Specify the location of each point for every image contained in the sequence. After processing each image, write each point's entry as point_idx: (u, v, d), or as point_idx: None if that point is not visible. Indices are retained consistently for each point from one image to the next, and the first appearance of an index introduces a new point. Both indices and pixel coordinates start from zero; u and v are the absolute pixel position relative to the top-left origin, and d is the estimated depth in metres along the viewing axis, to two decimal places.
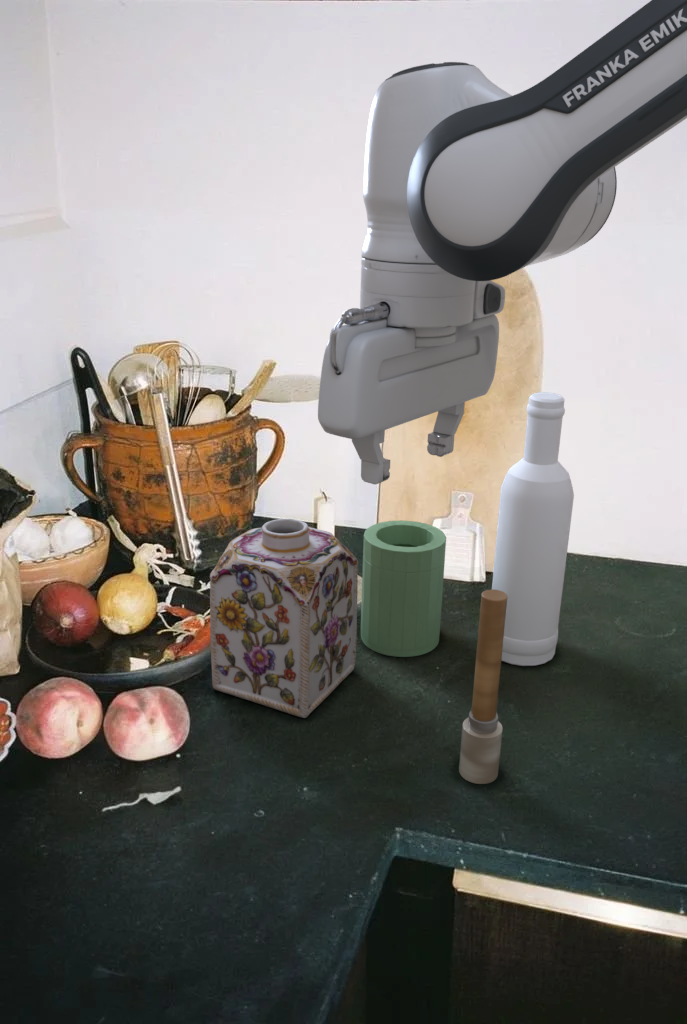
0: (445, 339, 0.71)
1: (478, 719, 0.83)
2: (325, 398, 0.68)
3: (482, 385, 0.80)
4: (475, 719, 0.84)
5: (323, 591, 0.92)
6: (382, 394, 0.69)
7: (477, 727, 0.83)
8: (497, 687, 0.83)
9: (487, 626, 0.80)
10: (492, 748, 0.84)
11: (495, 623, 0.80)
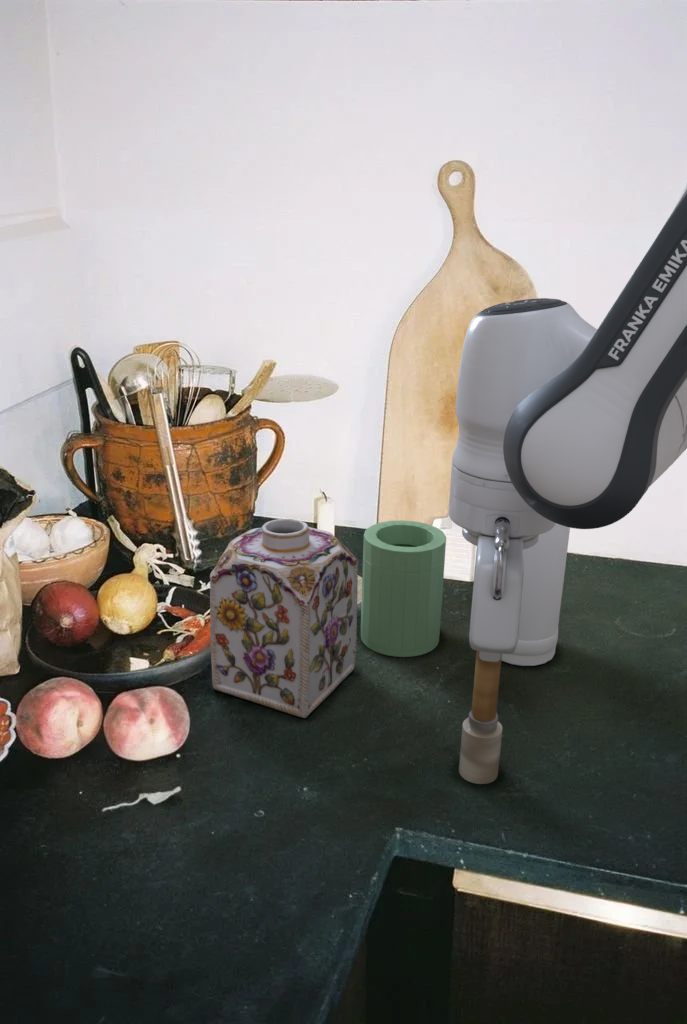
0: (538, 536, 0.77)
1: (478, 720, 0.83)
2: (482, 622, 0.70)
3: None
4: (475, 719, 0.83)
5: (323, 591, 0.92)
6: None
7: (477, 727, 0.83)
8: (497, 687, 0.83)
9: None
10: (492, 748, 0.84)
11: None
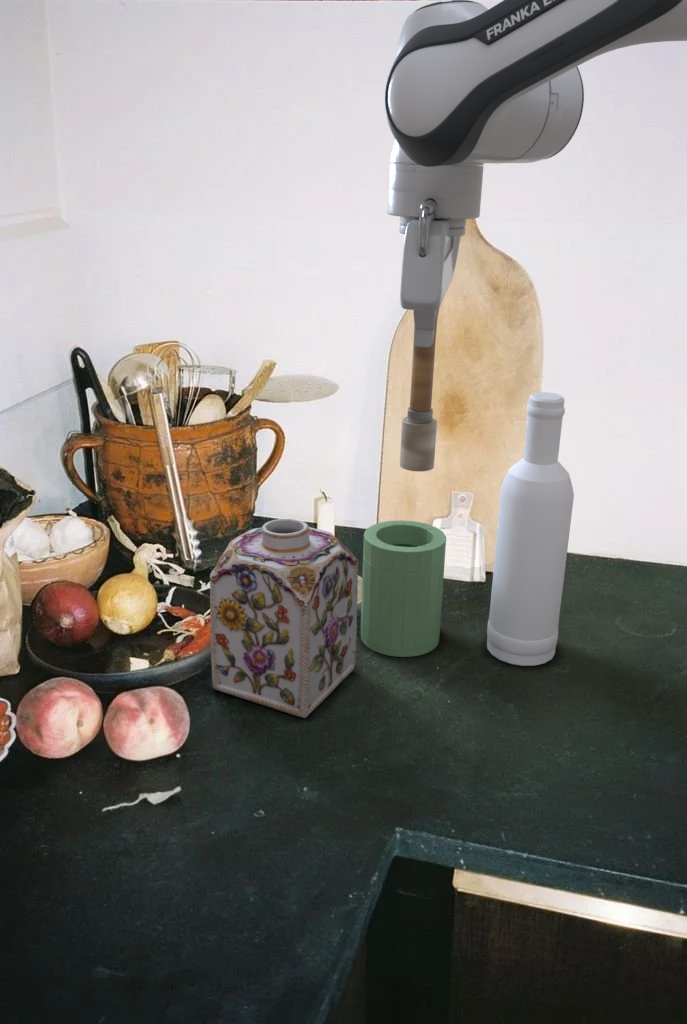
0: (464, 230, 0.89)
1: (415, 411, 0.96)
2: (410, 278, 0.82)
3: (452, 274, 0.99)
4: (412, 410, 0.96)
5: (323, 591, 0.92)
6: None
7: (414, 417, 0.96)
8: (431, 379, 0.95)
9: None
10: (427, 436, 0.96)
11: None
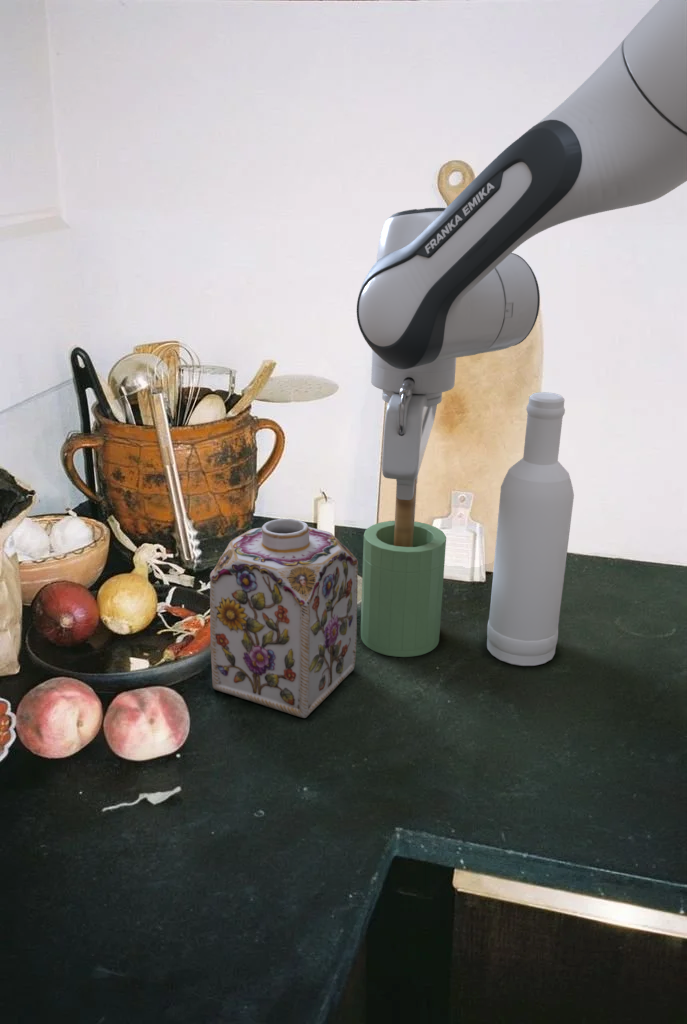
0: (440, 398, 0.99)
1: None
2: (390, 453, 0.92)
3: (432, 423, 1.09)
4: None
5: (323, 591, 0.92)
6: (421, 444, 0.94)
7: None
8: (412, 525, 1.04)
9: None
10: None
11: None
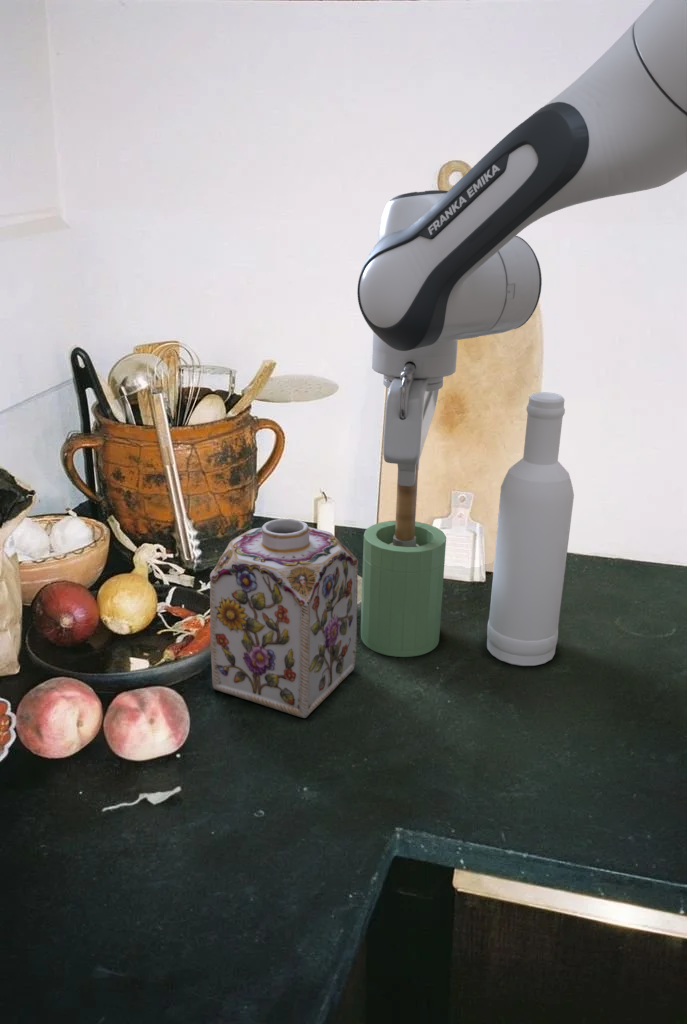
0: (442, 383, 0.98)
1: (400, 539, 1.05)
2: (391, 437, 0.91)
3: (433, 410, 1.08)
4: (397, 539, 1.05)
5: (323, 591, 0.92)
6: (422, 428, 0.94)
7: (399, 545, 1.05)
8: (414, 512, 1.04)
9: None
10: None
11: None
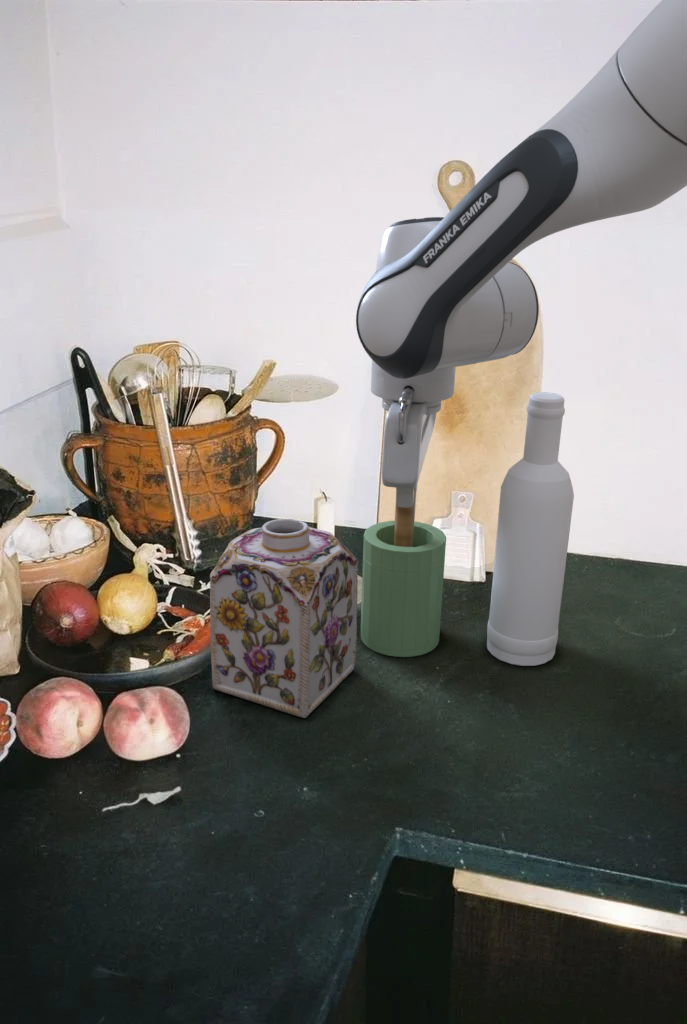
0: (440, 406, 0.99)
1: None
2: (390, 462, 0.92)
3: (431, 431, 1.09)
4: None
5: (323, 591, 0.92)
6: None
7: None
8: (412, 532, 1.05)
9: None
10: None
11: None
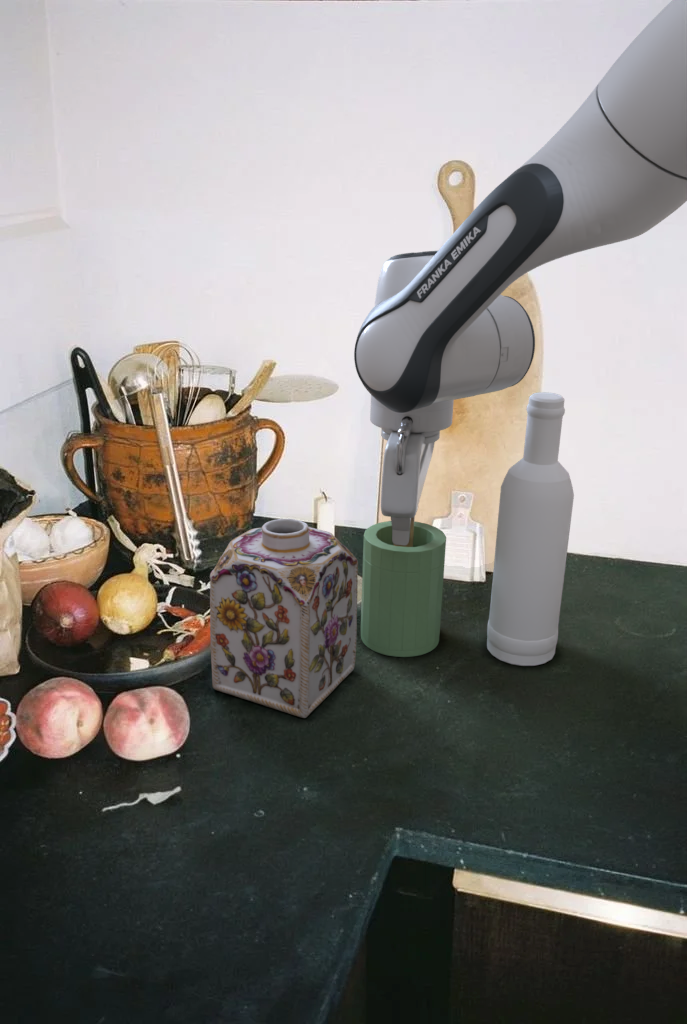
0: (438, 435, 1.00)
1: None
2: (389, 492, 0.93)
3: (430, 457, 1.10)
4: None
5: (323, 591, 0.92)
6: (419, 482, 0.96)
7: None
8: None
9: None
10: None
11: None
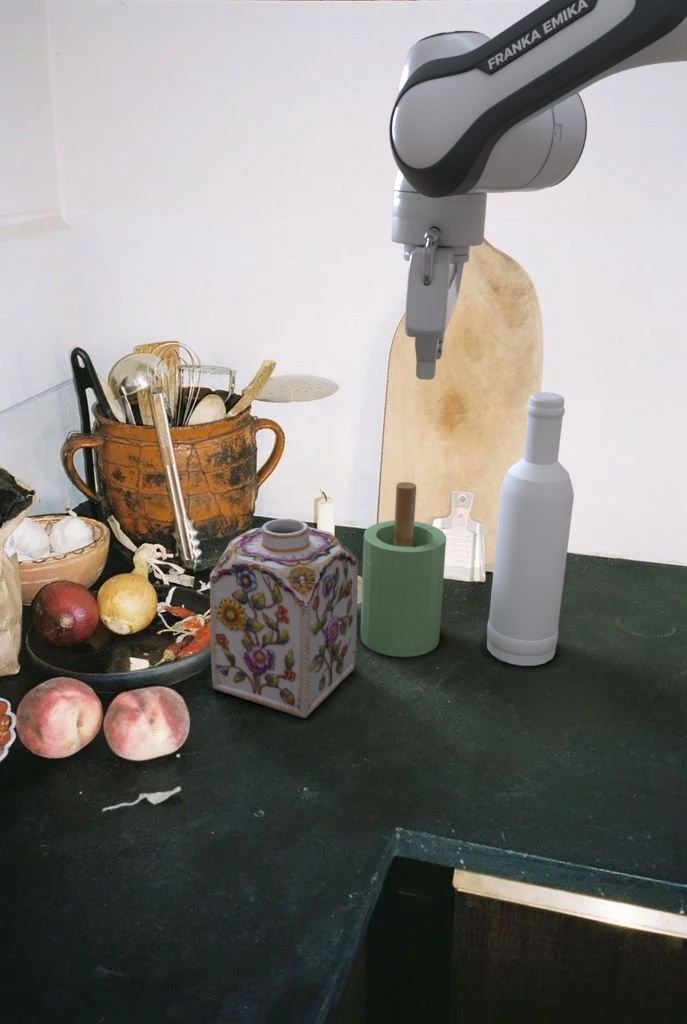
0: (468, 256, 0.89)
1: None
2: (414, 306, 0.82)
3: (456, 299, 0.99)
4: None
5: (323, 591, 0.92)
6: (448, 300, 0.85)
7: None
8: None
9: (400, 510, 1.03)
10: None
11: (406, 507, 1.03)
